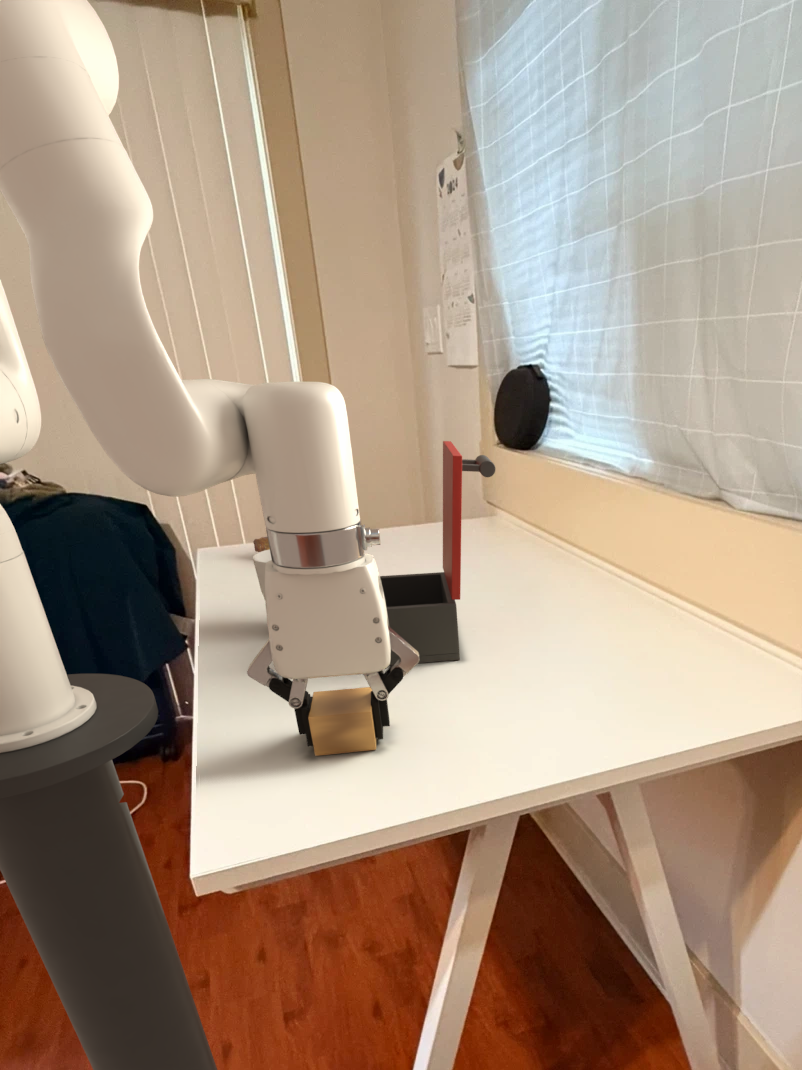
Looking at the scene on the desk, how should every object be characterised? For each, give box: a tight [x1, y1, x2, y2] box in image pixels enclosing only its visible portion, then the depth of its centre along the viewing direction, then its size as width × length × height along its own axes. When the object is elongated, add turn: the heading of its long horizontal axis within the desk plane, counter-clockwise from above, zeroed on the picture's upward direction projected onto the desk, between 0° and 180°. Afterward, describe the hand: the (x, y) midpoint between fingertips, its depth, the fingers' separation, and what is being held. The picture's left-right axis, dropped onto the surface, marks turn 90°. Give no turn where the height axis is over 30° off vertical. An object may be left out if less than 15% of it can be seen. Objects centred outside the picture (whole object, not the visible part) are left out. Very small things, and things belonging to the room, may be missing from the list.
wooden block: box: [308, 686, 377, 757], centre depth 66 cm, size 6×6×4 cm
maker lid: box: [442, 440, 496, 601], centre depth 84 cm, size 16×14×5 cm
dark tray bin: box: [380, 571, 461, 667], centre depth 87 cm, size 15×14×7 cm
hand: (346, 734), depth 67 cm, fingers closed on wooden block, 5 cm apart
